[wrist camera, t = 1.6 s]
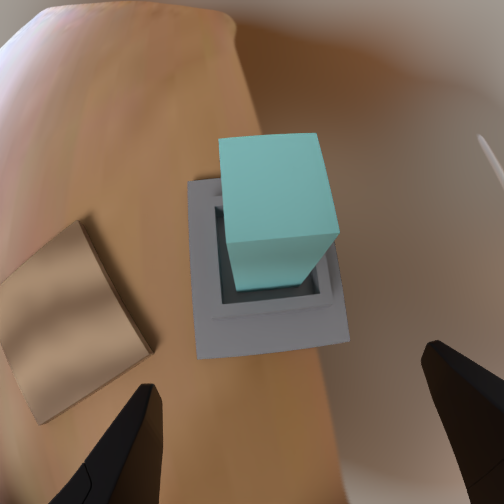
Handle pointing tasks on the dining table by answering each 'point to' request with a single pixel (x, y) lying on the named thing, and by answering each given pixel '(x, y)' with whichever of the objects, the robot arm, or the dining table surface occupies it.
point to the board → (66, 326)
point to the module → (275, 209)
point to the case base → (255, 293)
